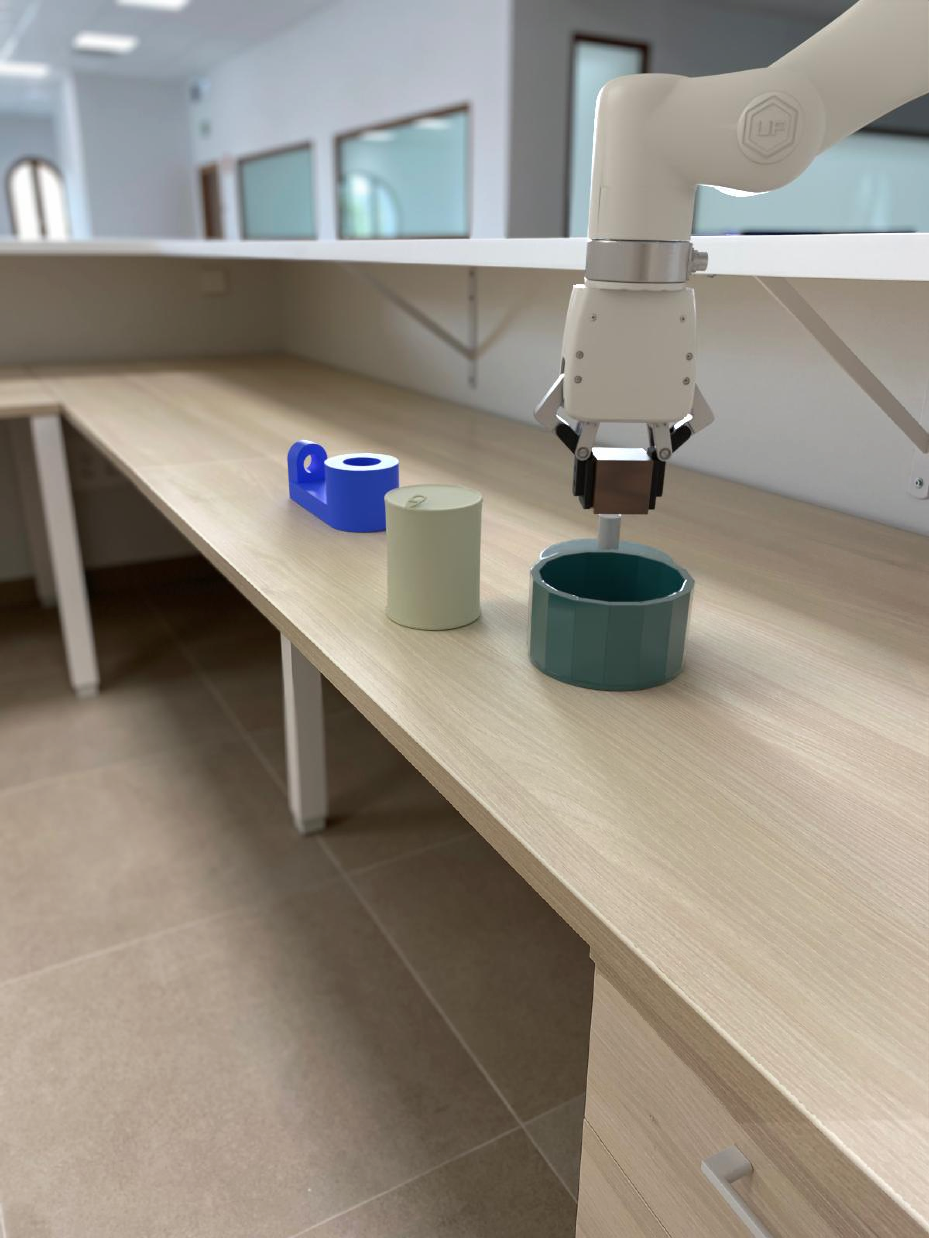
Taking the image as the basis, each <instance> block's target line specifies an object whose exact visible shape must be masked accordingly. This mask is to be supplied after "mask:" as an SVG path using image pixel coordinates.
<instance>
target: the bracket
mask: <svg viewBox="0 0 929 1238" xmlns="http://www.w3.org/2000/svg"><path fill="white" fill-rule="evenodd" d="M309 456H310V463H309V465H308V466H307V467H306V468H305V461H306V459H307V458H308V457H309ZM286 461H287V473H288V474H287V476H288V477H287V478H288V492H289V499H291V500H292V501H293V502H294V503H296V504H297V505H299V506H300V507H302V508H303V509H305V510H306V511H307V512H309V513H310V514H312V515H313V516H315V517H317V519H319V520H321V521H322V522H324V523H325V524H327V526H329V527H330V528H332V529H335V530H338V531H344V532H348V533H349V532H350V533H352V532H353V533H371V532H372V533H373V532H374V533H375V532H380V531H386V510H385V500H384V497H385V495H386V494H387V493H388V492H389V491H391V490H393V489H396V488H400V460H399V459H398V458H397V457H394V456H392V455H387V454H381V453H372V452H371V453H369V452H361V453H360V452H355V453H345V454H339V455H335V456H331V457H329V458H328V453H327V451H326V449H325V448H324V447H323V446H322V445H321V444H318V443H316V442H314V441H310V440H307V439H301V440H297V441H296V442H294V443H293V444H292V445H291V446H290V447H289V450H288V452H287V458H286Z"/></svg>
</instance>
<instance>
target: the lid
mask: <svg viewBox="0 0 929 1238" xmlns="http://www.w3.org/2000/svg"><path fill="white" fill-rule="evenodd" d="M597 522H598V523H597V534H596V535H597V536H596V537H597V538H579V539H578V538H577V539H571V540H565V541H560V542H557V543H554V544H551V545H549V546H547V547H545V548H544V549H543V550H542V551H541V553H540V554H539V560H541V559H544V558H546V557H549V556H552V555H554V554H557V553H562V552H569V551H576V550H620V551H628V552H636V553H643V554H646V555H650V556H654V557H657V558H661V559H665V560H668V561H670V562H672V563H674V564H675V561H674V559H673V558H672V557H671V556H670V555H668V553H666V552H664V551H662V550H661V549H658V548H655V547H653V546H650V545H647V544H643V543H639V542H636V541H635V542H634V541H630V540H622V539H620V537H621V526H622V514H598V521H597Z"/></svg>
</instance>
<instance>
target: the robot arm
mask: <svg viewBox="0 0 929 1238" xmlns="http://www.w3.org/2000/svg"><path fill="white" fill-rule="evenodd" d="M926 94H929V0H858V1H857V2H855V3H854V4H853V5H852V6H851V7H849V8H848V9H847V10H846V11H844V12H843V13H842V14H841V15H839V16H837V17H836V18H835V19H834V20H833V21H831V22H830V23H828V24H827V25H826V26H824V27H823V28H822V29H821V30H819V31H817V32H816V33H815V34H814V35H812V36H811V37H809V38H808V39H806V40H805V41H804V42H801V44H799V45H798V46H796V47H795V48H793V49H792V50H791V51H789V52H788V53H786V54H784V55H783V56H781V57H780V58H779V59H777V60H776V61H774V62H772V63H771V64H770V65H768V66H767V67H761V68H760V67H759V68H752V69H746V70H741V71H734V72H728V73H721V74H714V75H704V76H695V77H689V76H686V75H681V74H672V73H651V72H649V73H648V72H647V73H633V74H627V75H621V76H617V77H614V78H612V79H610V80H608V81H607V82H606V83H605V84H604V85H603V86H602V88H601V89H600V91H599V93H598V96H597V99H596V106H595V114H594V115H595V116H594V117H595V118H594V131H593V147H592V161H591V162H592V163H591V177H590V192H589V207H588V209H589V210H588V223H587V240H586V254H585V255H586V256H585V267H584V269H585V270H584V284H576V285H575V284H574V285H573V287H572V291H571V294H570V297H569V302H568V303H569V304H568V308H567V313H566V317H565V323H564V324H565V325H564V329H563V330H564V331H563V338H562V345H561V354H560V364H559V374H558V378H557V380H556V381H555V382H554V383H553V385H552V386H551V387H550V388H549V390H548V391H547V393H546V394H544V396H543V398H541V400H540V402H539V403H538V404H537V405H536V407H535V408H534V409H533V413H532V414H533V418H534V419H535V421H536V422H538V423H539V424H540V425H541V426H543V427H544V428H545V429H547V431H549V432H551V433H552V434H553V435H555V436H556V437H557V438H558V439H559V440H560V441H561V442H562V443H563V444H564V445H565V447H566V448H568V449H569V450H570V452H571V453H572V454H573V455H574V460H573V474H572V476H573V477H572V495H573V497H578V501H579V503H580V505H581V507H582V509H583V510H591V508H592V506H593V493H594V480H595V467H596V463H595V461H594V459H593V451H592V448H594V444H595V441H596V437H597V435H598V431H599V427H600V424H601V423H616V424H617V423H618V424H619V423H620V424H621V423H623V424H626V423H627V424H645V425H646V429H647V438H648V445H649V446H648V447H647V450H646V452H645V453H646V454H647V455H648V456H649V457H650V458H651V459H652V460H653V470H652V480H651V490H650V500H649V510H648V511H650V510H651V511H655V510H656V503H657V498H661V497H662V496H663V494H664V484H665V473H666V466H667V461H669V460H670V459H671V458H672V457H673V455H674V453H675V452H677V450H679V448H681V447H682V446H683V445H684V444H685V443H687V441H688V440H689V439H690V438H691V437H692V436H693V435H696V434H698V433H699V432H700V431H702V430H703V429H706V428H707V427H708V426H710V425H711V424H712V423H713V422H714V421H715V414H714V412H713V411H712V408H711V407H710V405H709V403H708V402H707V399H705V397H704V395H703V393H702V392H701V390H700V388H699V386H698V384H697V383H696V375H697V374H696V373H697V310H696V309H697V308H696V298H695V297H696V296H695V289H694V288H692V287H688V286H687V281H690V276H692V274H694V273H696V272H705V271H706V270H707V268H708V264H709V253H708V252H707V251H699V250H698V249H695V247H694V243H693V242H690V241H692V240H691V238H692V229H693V228H692V227H693V220H694V219H693V218H694V211H695V202H696V191H697V188H698V186H706V187H714V188H715V189H716V190H719V191H720V192H721V193H724V194H727V195H730V196H735V197H750V196H756V195H761V194H765V193H770V192H773V191H777V190H780V189H781V188H784V187H786V186H787V185H788V184H790V183H792V182H794V181H795V180H796V179H797V178H798V177H799V176H801V175H802V174H803V173H804V172H805V171H806V170H807V169H808V168H809V167H810V165H811V164H812V163H813V162H814V159H815V158H816V157H818V156H819V155H820V154H822V153H824V152H825V151H827V150H829V149H830V148H832V147H834V146H835V145H836V144H838V143H840V142H841V141H843V140H845V139H846V138H848V137H850V136H851V135H853V134H854V133H857V131H859V130H861V129H862V128H864V127H866V126H868V125H869V124H871V123H873V122H874V121H876V120H878V119H880V118H881V117H883V116H884V115H886V114H888V113H890V112H892V111H893V110H895V109H897V108H899V107H901V106H903V105H905V104H908V103H909V102H911V101H913V100H915V99H918V98H919V97H922V96H924V95H926ZM560 407H561V408H562V409H564V411H565V414H566V415H567V416H568V417H569V418H571V419H573V420H576V421H577V422H576V425H575V429H573V427H572V426H571V425H569V423H568V422H567V421H565V420H564V419H563V418H561V417H560V416H558V415H557V414H558V413H557V411H558V409H559V408H560ZM669 423H673V425H672V426H670V424H669Z"/></svg>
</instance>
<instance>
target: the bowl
mask: <svg viewBox="0 0 929 1238" xmlns="http://www.w3.org/2000/svg"><path fill="white" fill-rule="evenodd" d="M528 582H529V583H528V604H527V605H528V607H527V627H526V628H527V629H526V646H527V656H528V659H529V661H530V662H531V663H532V665H533V666H534V667H535V668H536V669H538V670H539V671H540V672H542V673H543V674H545V675H546V676H549V677H550V678H552V679H555V680H557V681H559V682H562V683H565V684H568V685H572V686H576V687H581V688H585V689H592V690H597V691H598V690H599V691H610V692H611V691H615V692H622V691H624V692H625V691H637V690H644V689H651V688H654V687H658V686H661V685H664V684H666V683H668V682H670V681H673V680H674V679H675V678H677V677H678V676H679V675H680V673H682V671H683V669H684V666H685V661H686V658H687V651H688V643H689V634H690V626H691V619H692V618H691V617H692V610H693V602H694V592H695V586H696V581H695V579H694V578H693V577H692V576H691V573H690V572H689V571H688V570H687V569H685V568H684V567H682V566H680V565H677V564H675V562H674V563H672V562H670V561H668V560H665V559H661V558H657V557H654V556H650V555H646V554H643V553H636V552H628V551H620V550H576V551H569V552H562V553H557V554H554V555H552V556H549V557H546V558H544V559H541V560H540V559H538V561H537V562H535V564H534V565H533V566H532V567H531V568H530V569H529V581H528Z"/></svg>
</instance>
